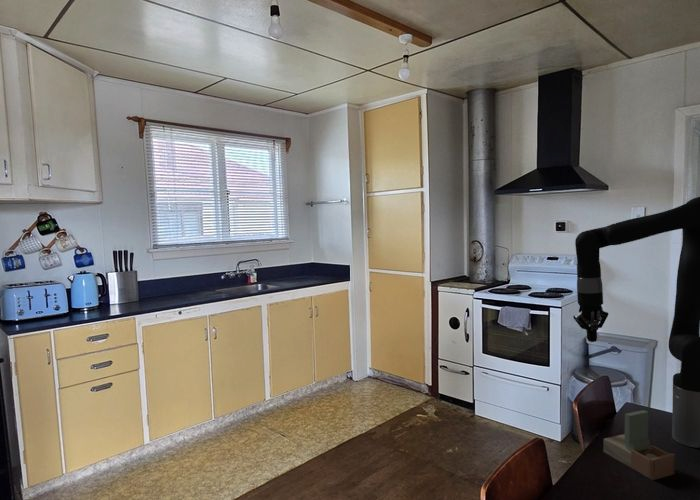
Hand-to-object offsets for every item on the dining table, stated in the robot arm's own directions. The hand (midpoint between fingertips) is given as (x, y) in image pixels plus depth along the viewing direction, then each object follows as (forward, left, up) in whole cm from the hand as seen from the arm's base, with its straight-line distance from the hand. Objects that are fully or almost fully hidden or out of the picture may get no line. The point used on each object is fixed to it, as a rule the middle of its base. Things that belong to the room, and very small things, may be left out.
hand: (592, 341), depth 147 cm
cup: (+8, +28, -28) cm, 41 cm away
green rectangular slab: (+8, +24, -24) cm, 35 cm away
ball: (+8, +28, -26) cm, 39 cm away
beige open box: (+8, +21, -28) cm, 36 cm away
